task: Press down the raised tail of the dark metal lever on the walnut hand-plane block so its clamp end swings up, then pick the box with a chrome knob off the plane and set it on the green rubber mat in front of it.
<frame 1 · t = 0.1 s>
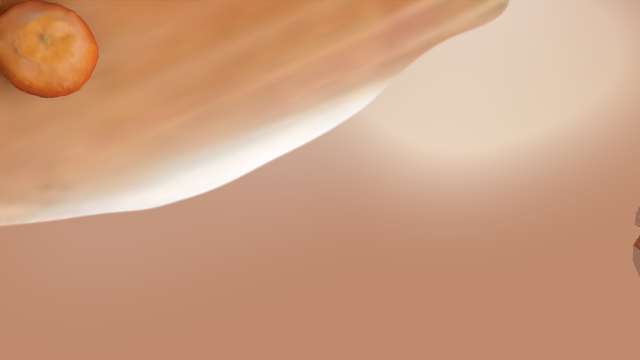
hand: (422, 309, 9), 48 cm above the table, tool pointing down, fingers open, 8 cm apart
fruit: (54, 40, 51), on the table
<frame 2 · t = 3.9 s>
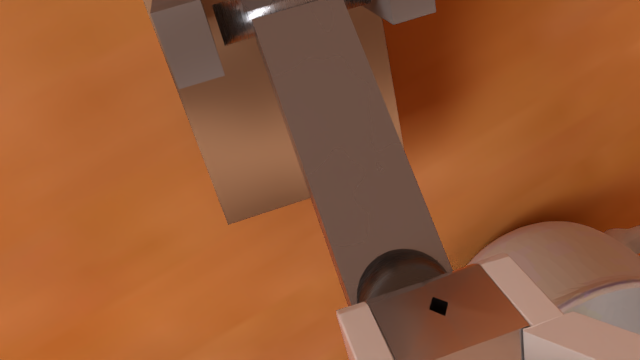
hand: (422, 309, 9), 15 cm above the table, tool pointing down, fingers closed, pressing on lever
teacup: (532, 260, 31), on the table
lever: (317, 28, 10), point 11 cm above the table, hinge at 0.0°, touching gripper
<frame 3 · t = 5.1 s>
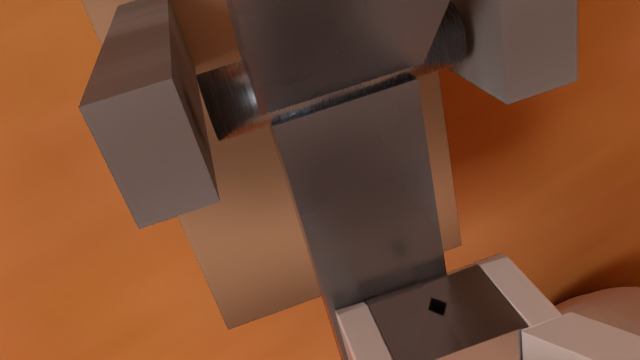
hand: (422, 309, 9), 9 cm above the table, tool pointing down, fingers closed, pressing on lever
teacup: (590, 325, 26), on the table
lever: (395, 232, 7), point 11 cm above the table, hinge at -46.0°, touching gripper
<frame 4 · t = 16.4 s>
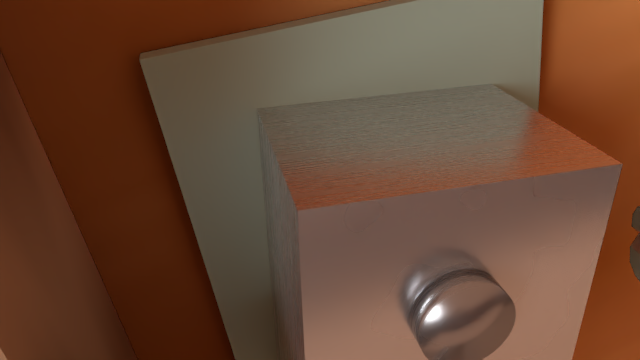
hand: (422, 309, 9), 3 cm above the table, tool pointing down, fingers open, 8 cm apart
mat: (372, 224, 12), on the table
box with chrome knob: (375, 235, 11), resting on mat
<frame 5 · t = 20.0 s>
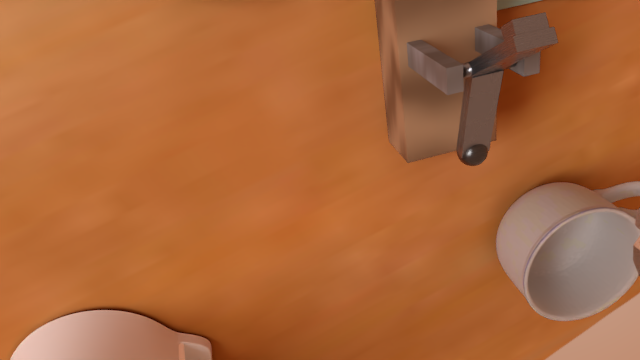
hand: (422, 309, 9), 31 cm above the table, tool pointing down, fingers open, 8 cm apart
teacup: (546, 209, 51), on the table
lever: (494, 104, 33), point 10 cm above the table, hinge at -60.9°
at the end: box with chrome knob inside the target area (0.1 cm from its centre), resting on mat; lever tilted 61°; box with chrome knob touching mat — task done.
